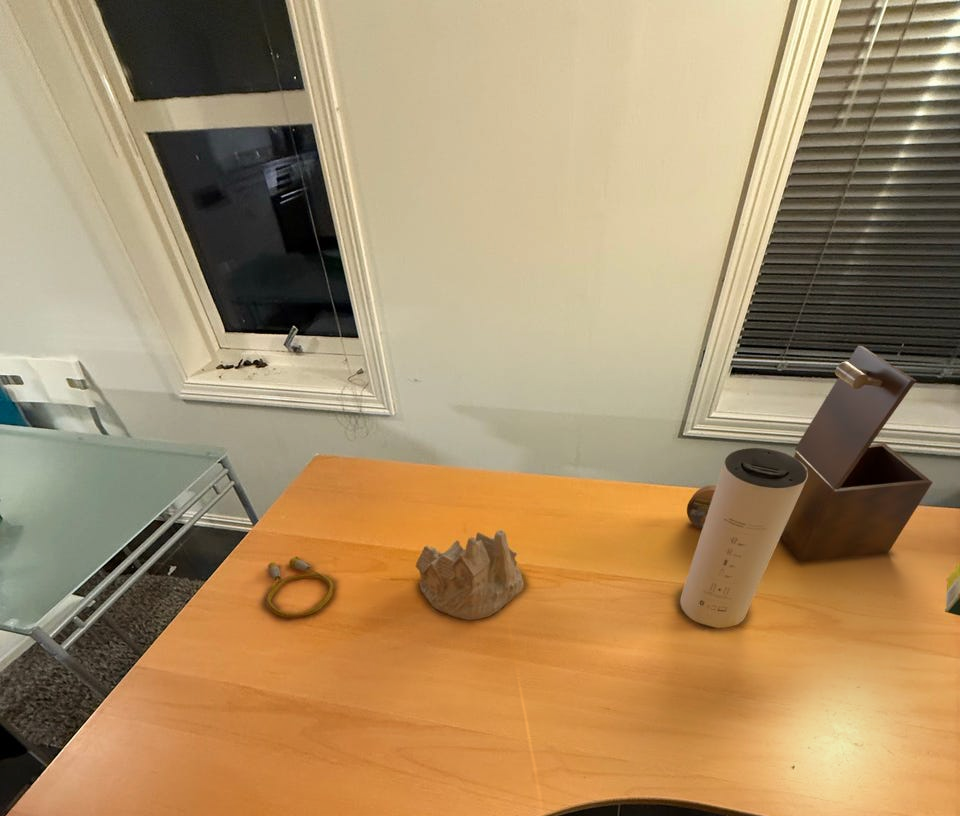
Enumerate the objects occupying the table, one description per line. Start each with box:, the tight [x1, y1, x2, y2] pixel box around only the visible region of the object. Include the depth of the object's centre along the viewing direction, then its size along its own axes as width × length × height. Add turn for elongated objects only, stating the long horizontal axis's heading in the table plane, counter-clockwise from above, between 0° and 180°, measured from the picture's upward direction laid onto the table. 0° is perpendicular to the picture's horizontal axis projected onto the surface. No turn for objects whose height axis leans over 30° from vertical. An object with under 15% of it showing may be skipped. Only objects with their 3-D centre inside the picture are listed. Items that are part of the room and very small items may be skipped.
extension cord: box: [266, 556, 334, 618], centre depth 97 cm, size 12×16×2 cm
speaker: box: [679, 447, 808, 629], centre depth 80 cm, size 11×10×26 cm
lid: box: [794, 345, 917, 489], centre depth 83 cm, size 17×13×5 cm
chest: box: [780, 442, 933, 563], centre depth 95 cm, size 16×13×14 cm
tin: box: [686, 484, 717, 530], centre depth 100 cm, size 15×3×8 cm, turn 62°
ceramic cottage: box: [415, 529, 525, 621], centre depth 91 cm, size 16×16×15 cm
